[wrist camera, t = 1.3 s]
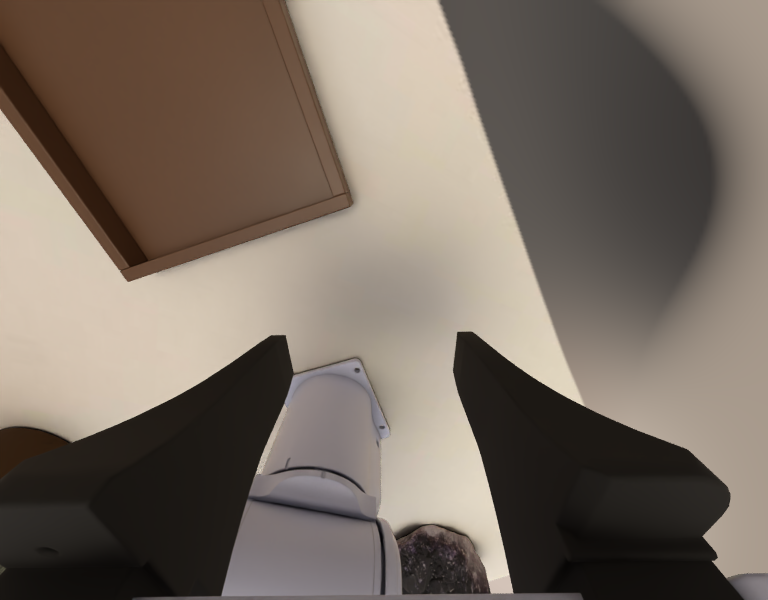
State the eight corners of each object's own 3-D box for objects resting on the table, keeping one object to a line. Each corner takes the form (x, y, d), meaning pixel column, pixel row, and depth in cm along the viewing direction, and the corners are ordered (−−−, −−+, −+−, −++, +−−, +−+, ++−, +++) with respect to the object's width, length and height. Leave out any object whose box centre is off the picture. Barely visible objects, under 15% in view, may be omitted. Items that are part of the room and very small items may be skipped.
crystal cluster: (359, 530, 35) (347, 657, 26) (463, 514, 32) (488, 652, 23) (398, 568, 41) (398, 682, 32) (488, 558, 38) (516, 681, 29)
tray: (354, 203, 18) (350, 206, 16) (155, 271, 20) (127, 282, 18) (200, -250, 11) (156, -356, 9) (-90, -87, 13) (-187, -143, 11)
